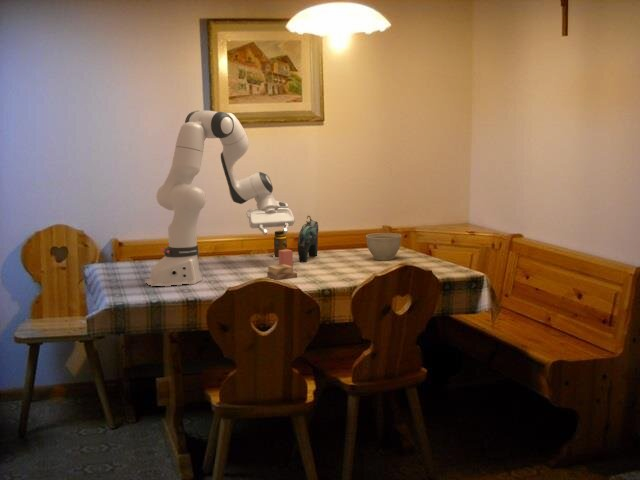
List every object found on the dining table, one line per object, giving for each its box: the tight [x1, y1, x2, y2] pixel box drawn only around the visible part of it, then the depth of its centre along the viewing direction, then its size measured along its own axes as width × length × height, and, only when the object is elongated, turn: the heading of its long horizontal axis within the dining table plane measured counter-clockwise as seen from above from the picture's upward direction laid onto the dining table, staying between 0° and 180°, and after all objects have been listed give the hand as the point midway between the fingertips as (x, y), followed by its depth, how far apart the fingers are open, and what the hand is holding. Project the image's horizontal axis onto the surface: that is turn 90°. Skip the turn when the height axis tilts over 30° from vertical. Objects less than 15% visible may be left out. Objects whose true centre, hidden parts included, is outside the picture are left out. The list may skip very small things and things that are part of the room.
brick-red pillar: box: [278, 248, 294, 268], centre depth 324 cm, size 4×4×9 cm
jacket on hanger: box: [297, 215, 319, 263], centre depth 353 cm, size 20×6×20 cm, turn 162°
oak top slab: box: [267, 264, 294, 275], centre depth 312 cm, size 8×8×2 cm
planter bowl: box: [365, 232, 402, 261], centre depth 350 cm, size 16×16×11 cm
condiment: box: [268, 230, 288, 259], centre depth 362 cm, size 7×8×12 cm
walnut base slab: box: [266, 271, 298, 281], centre depth 313 cm, size 9×9×2 cm
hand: (275, 233), depth 334 cm, fingers open, 8 cm apart
